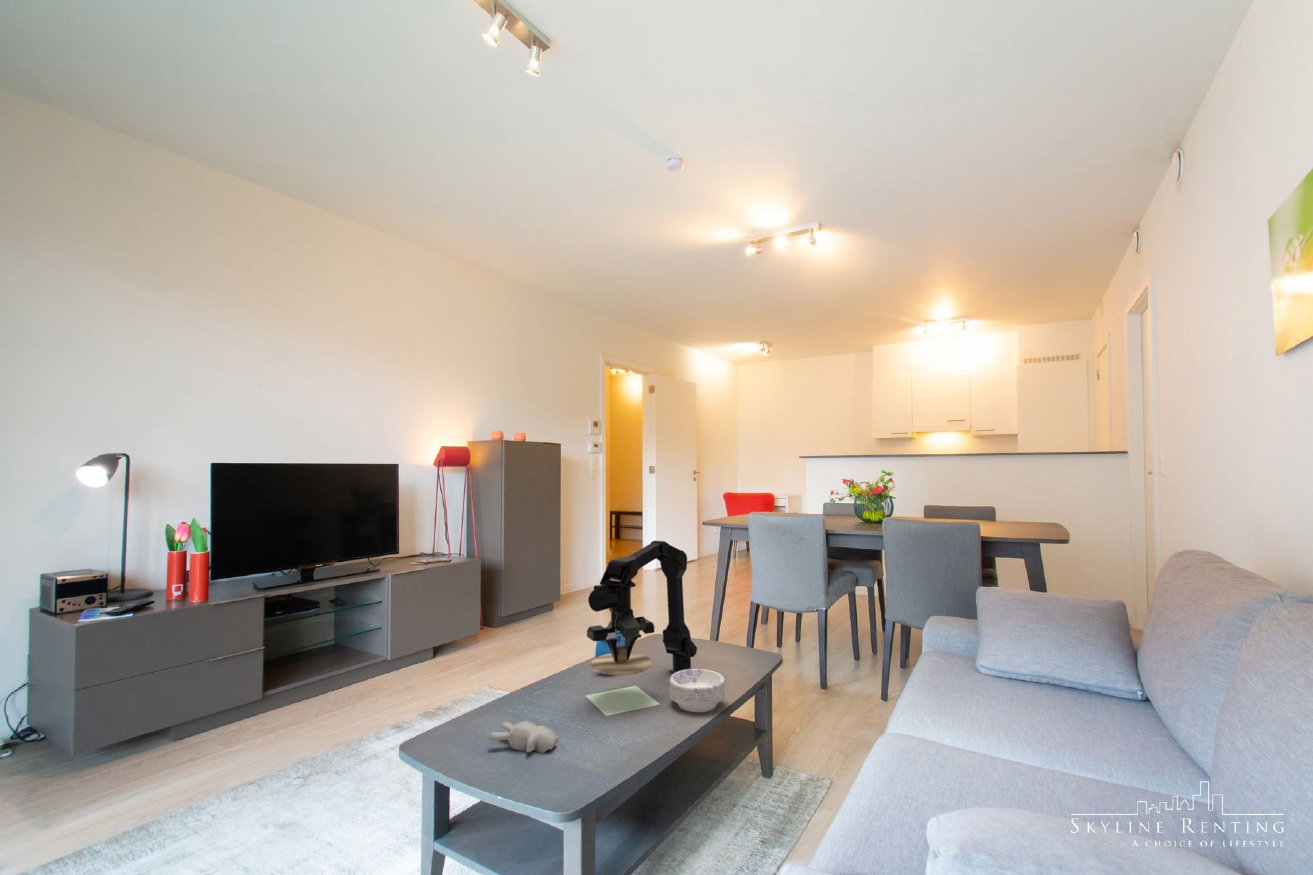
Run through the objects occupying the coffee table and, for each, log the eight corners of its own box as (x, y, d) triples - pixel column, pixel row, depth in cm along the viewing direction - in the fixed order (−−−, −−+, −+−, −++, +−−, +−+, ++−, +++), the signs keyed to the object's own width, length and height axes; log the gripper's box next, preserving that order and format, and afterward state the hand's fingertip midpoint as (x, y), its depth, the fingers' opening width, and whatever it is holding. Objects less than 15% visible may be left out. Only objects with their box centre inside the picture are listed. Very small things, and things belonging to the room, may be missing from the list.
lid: (582, 661, 173) (582, 643, 173) (636, 652, 180) (635, 635, 180) (604, 679, 157) (604, 660, 158) (661, 668, 165) (661, 650, 165)
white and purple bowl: (705, 723, 154) (705, 691, 154) (658, 709, 163) (658, 679, 163) (735, 704, 166) (734, 674, 166) (690, 692, 175) (689, 664, 176)
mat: (585, 697, 172) (585, 695, 172) (635, 687, 179) (635, 685, 179) (606, 717, 158) (606, 715, 158) (660, 706, 165) (660, 704, 165)
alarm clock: (608, 664, 201) (608, 619, 202) (626, 665, 199) (625, 620, 200) (594, 677, 188) (594, 629, 189) (613, 679, 187) (613, 630, 187)
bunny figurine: (547, 741, 136) (488, 727, 139) (545, 763, 136) (485, 750, 139) (563, 723, 145) (507, 711, 149) (561, 744, 145) (504, 732, 148)
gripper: (600, 614, 158) (601, 674, 158) (663, 606, 167) (663, 663, 166) (586, 606, 168) (586, 662, 167) (645, 599, 177) (646, 652, 176)
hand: (621, 660), depth 169 cm, fingers closed on lid, 3 cm apart
